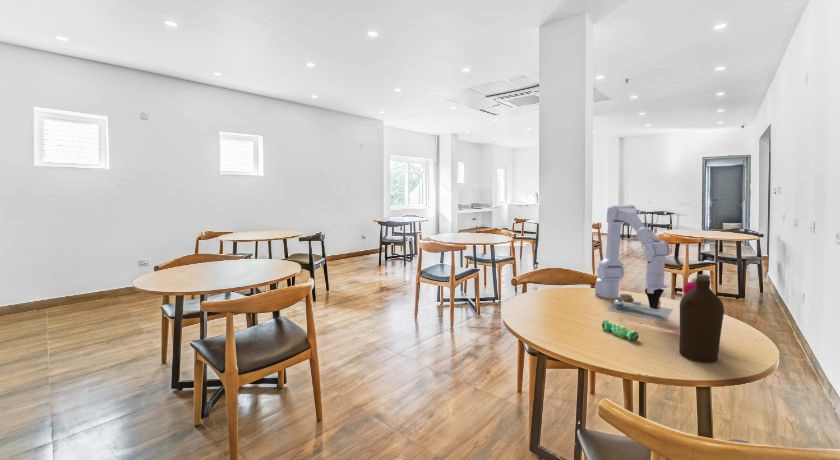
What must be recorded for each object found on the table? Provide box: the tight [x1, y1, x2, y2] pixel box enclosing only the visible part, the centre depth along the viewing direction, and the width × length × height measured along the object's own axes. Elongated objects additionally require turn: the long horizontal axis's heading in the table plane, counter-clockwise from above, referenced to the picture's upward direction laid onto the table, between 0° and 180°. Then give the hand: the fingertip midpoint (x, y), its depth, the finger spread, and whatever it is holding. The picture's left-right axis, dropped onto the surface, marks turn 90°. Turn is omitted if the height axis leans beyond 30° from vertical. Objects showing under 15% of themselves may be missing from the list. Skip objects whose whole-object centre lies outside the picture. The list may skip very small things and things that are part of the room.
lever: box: [613, 298, 662, 312], centre depth 151 cm, size 16×4×4 cm, turn 47°
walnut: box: [625, 296, 635, 303], centre depth 159 cm, size 4×4×4 cm
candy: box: [601, 320, 640, 342], centre depth 131 cm, size 12×3×4 cm
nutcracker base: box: [606, 293, 674, 322], centre depth 153 cm, size 20×18×5 cm
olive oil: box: [678, 273, 725, 364], centre depth 112 cm, size 11×11×25 cm
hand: (653, 307), depth 143 cm, fingers closed
